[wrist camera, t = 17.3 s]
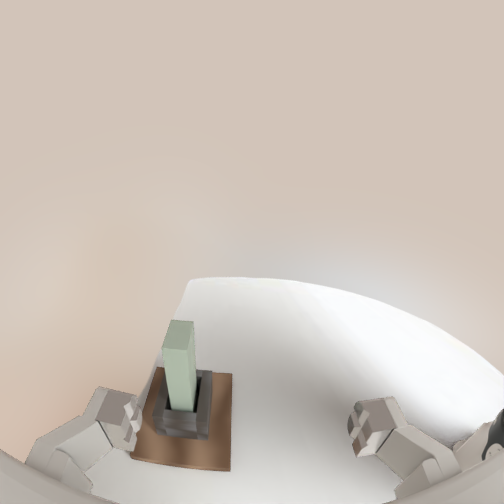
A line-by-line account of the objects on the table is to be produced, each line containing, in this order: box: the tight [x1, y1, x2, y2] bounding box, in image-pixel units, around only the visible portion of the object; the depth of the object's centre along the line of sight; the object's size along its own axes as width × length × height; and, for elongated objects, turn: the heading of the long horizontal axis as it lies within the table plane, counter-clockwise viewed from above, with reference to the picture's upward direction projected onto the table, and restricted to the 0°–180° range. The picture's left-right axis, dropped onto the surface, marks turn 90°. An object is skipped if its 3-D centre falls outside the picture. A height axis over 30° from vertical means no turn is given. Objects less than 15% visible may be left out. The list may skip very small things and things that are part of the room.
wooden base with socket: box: [130, 367, 232, 471], centre depth 38 cm, size 14×20×6 cm
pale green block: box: [162, 320, 198, 413], centre depth 36 cm, size 3×6×16 cm, turn 3°
